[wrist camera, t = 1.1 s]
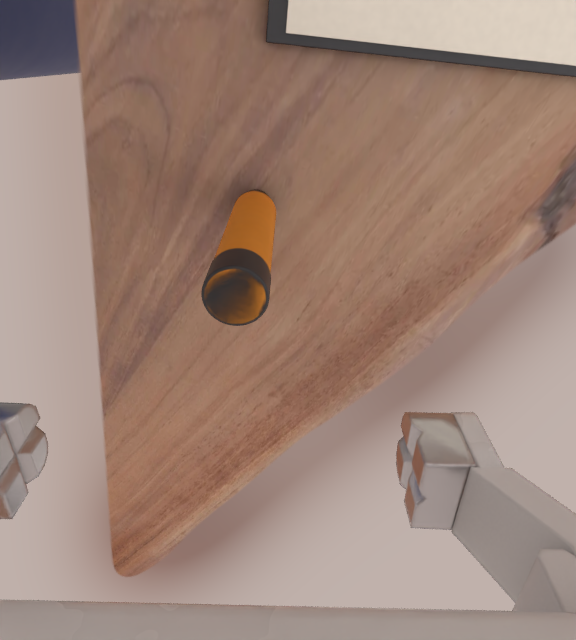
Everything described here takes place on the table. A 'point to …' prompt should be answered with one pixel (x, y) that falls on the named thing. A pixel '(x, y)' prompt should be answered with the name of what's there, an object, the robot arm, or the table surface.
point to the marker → (242, 262)
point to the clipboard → (436, 30)
